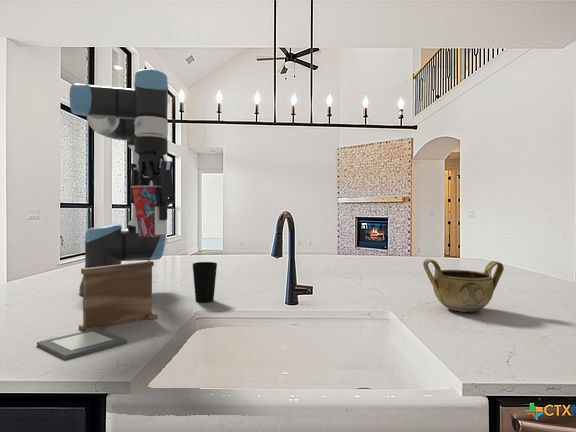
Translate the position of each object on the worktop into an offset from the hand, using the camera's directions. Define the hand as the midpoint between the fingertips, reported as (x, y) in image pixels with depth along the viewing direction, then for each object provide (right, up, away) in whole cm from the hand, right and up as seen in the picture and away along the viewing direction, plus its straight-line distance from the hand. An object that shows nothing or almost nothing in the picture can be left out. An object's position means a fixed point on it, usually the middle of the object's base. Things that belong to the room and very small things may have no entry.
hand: (151, 233), depth 100 cm
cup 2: (+6, -23, +33) cm, 41 cm away
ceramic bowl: (+85, -24, +24) cm, 91 cm away
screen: (-10, -23, +7) cm, 26 cm away
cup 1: (0, -1, 0) cm, 1 cm away
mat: (-12, -24, -10) cm, 28 cm away
